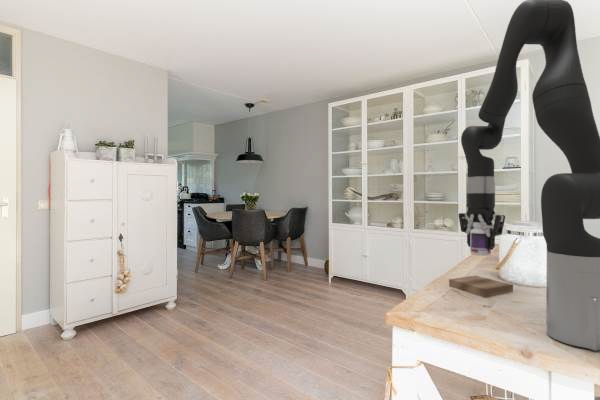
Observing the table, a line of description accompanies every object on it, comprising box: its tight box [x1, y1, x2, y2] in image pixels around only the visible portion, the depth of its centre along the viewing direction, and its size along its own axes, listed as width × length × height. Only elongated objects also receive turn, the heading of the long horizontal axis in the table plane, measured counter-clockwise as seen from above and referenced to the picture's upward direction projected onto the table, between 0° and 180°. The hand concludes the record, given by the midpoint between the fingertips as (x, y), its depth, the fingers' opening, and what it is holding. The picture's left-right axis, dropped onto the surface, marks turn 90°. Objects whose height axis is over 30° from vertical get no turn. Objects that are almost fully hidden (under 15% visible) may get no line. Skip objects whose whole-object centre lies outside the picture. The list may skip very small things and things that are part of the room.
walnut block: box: [448, 275, 514, 299], centre depth 96 cm, size 12×12×3 cm
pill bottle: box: [469, 222, 492, 257], centre depth 95 cm, size 5×5×10 cm
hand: (480, 247), depth 96 cm, fingers closed on pill bottle, 5 cm apart
